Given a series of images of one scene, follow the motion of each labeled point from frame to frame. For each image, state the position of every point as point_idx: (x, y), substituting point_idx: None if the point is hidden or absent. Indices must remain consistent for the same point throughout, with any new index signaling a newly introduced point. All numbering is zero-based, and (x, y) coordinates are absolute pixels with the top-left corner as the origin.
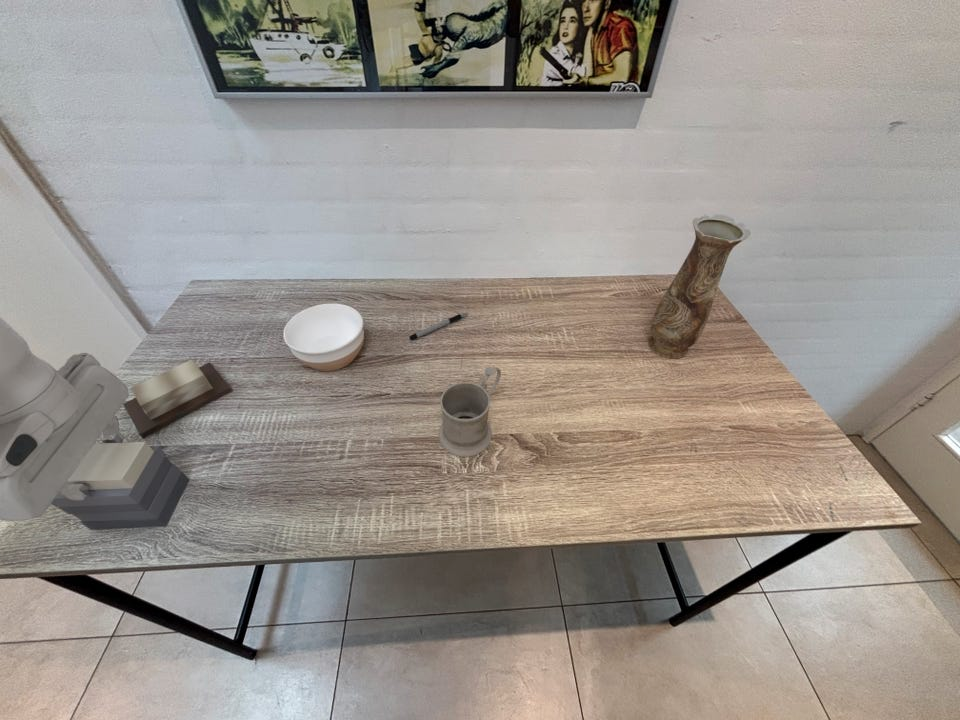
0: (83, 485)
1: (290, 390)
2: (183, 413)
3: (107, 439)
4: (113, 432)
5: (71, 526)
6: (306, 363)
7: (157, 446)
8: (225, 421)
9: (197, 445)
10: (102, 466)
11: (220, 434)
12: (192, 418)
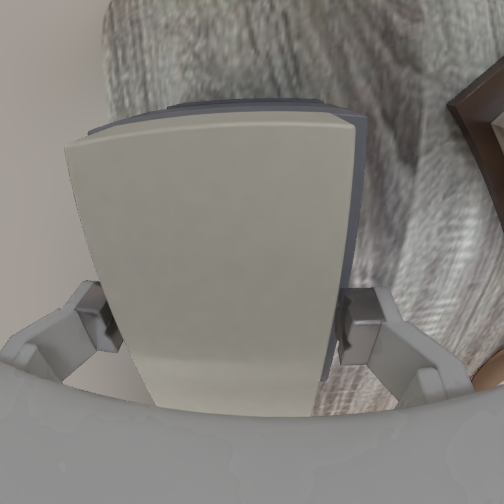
0: (113, 349)
1: (467, 347)
2: (492, 189)
3: (351, 341)
4: (378, 367)
5: (188, 51)
6: (489, 384)
7: (324, 379)
8: (447, 274)
9: (402, 242)
10: (196, 379)
11: (417, 277)
12: (476, 203)
